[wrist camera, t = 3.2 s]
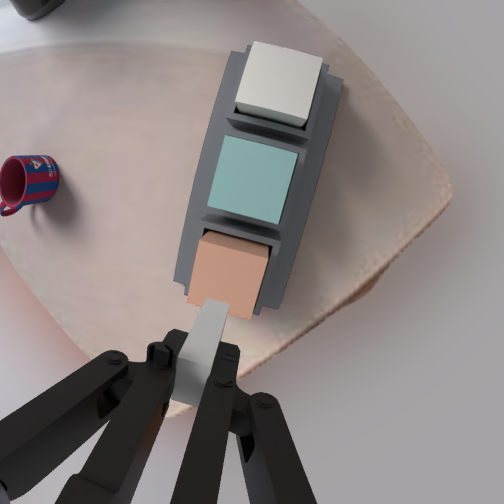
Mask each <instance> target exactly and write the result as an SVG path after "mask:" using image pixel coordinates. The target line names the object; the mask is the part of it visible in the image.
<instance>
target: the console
mask: <svg viewBox="0 0 504 504" xmlns="http://www.w3.org/2000/svg"><path fill="white" fill-rule="evenodd" d="M251 47H252V46H250V45H248V46H247V49H246V52H245V53H240V52H235V51H231V53H230V56H229V59H228V62H227V65H226V69H225V72H224V75H223V78H222V81H221V84H220V88H219V91H218V94H217V97H216V101H215V104H214V108H213V111H212V114H211V118H210V122H209V125H208V129H207V132H206V136H205V140H204V143H203V147H202V151H201V155H200V159H199V163H198V167H197V171H196V175H195V179H194V183H193V187H192V192H191V196H190V200H189V205H188V209H187V214H186V218H185V223H184V228H183V233H182V238H181V243H180V248H179V253H178V258H177V263H176V269H175V274H174V280H173V281H175V282H178V283H182V284H185V285H186V286H185V292H184V295H186V296H188V292H189V287H190V282H191V277H192V272H193V267H194V262H195V258H196V253H197V248H198V244H199V240H200V239H201V238H202V237H203V236H204V235H205V234H206V233H207V232H208V231H209V230H210V229H212V230H216V231H219V232H223V233H227V234H231V235H235V236H238V237H242V238H246V239H250V240H253V241H257V242H261V243H264V244H268V262H267V265H266V268H265V272H264V275H263V279H262V282H261V285H260V289H259V292H258V296H257V299H256V302H255V306H254V309H253V312H252V314H256V315H259V314H260V311H261V307H262V305H263V306H266V307H270V308H274V309H278V308H279V305H280V302H281V299H282V296H283V293H284V290H285V287H286V284H287V281H288V278H289V275H290V271H291V268H292V265H293V262H294V259H295V256H296V252H297V249H298V246H299V243H300V239H301V236H302V233H303V229H304V226H305V223H306V219H307V216H308V212H309V209H310V206H311V202H312V199H313V195H314V192H315V188H316V185H317V181H318V177H319V174H320V170H321V167H322V163H323V159H324V155H325V152H326V148H327V144H328V140H329V137H330V133H331V129H332V125H333V121H334V117H335V113H336V109H337V105H338V101H339V97H340V93H341V88H342V84H343V79H340V78H337V77H335V76H332V75H328V74H327V71H328V67H329V65H326V64H321V68H320V72H319V76H318V79H317V83H316V87H315V91H314V95H313V99H312V103H311V106H310V110H309V114H308V118H307V120H306V122H305V123H304V124H303V126H302V127H301V128H300V129H298V128H295V127H291V126H288V125H284V124H280V123H277V122H273V121H269V120H265V119H261V118H257V117H252V116H248V115H244V114H240V112H239V109H238V107H237V105H236V103H235V99H236V96H237V92H238V89H239V86H240V82H241V79H242V76H243V73H244V69H245V66H246V63H247V60H248V57H249V54H250V51H251ZM225 135H227V136H232V137H236V138H240V139H245V140H249V141H253V142H257V143H261V144H265V145H268V146H272V147H276V148H280V149H283V150H287V151H290V152H294V153H297V154H298V155H297V159H296V162H295V166H294V170H293V173H292V177H291V180H290V184H289V188H288V191H287V195H286V198H285V202H284V206H283V209H282V213H281V216H280V220H279V223H278V224H275V223H271V222H267V221H264V220H260V219H256V218H252V217H249V216H245V215H241V214H237V213H233V212H230V211H226V210H222V209H218V208H214V207H210V206H207V204H208V200H209V196H210V192H211V188H212V184H213V180H214V176H215V172H216V168H217V164H218V160H219V156H220V153H221V149H222V145H223V141H224V138H225Z"/></svg>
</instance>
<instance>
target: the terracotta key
mask: <svg viewBox="0 0 504 504" xmlns="http://www.w3.org/2000/svg"><path fill="white" fill-rule="evenodd" d="M267 262H268V244H264V243H261V242H257V241H253V240H250V239H246V238H242V237H238V236H235V235H231V234H227V233H223V232H219V231H216V230H212V229H210V230H209V231H208V232H207V233H206V234H205V235H204V236H203V237H202V238H201V239H200V240H199V244H198V248H197V253H196V258H195V262H194V267H193V272H192V277H191V282H190V287H189V292H188V297H187V302H186V303H189V304H193V305H196V306H200V307H202V306H203V304H204V302H205V300H206V298H209V299H213V300H217V301H220V302H224V303H228V304H230V306H229V310H228V314H229V315H233V316H236V317H240V318H244V319H248V320H250V319H251V316H252V312H253V309H254V306H255V302H256V299H257V296H258V292H259V289H260V285H261V282H262V279H263V275H264V272H265V268H266V265H267Z"/></svg>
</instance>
